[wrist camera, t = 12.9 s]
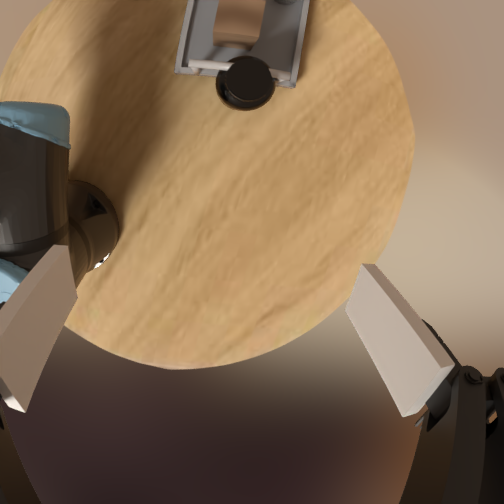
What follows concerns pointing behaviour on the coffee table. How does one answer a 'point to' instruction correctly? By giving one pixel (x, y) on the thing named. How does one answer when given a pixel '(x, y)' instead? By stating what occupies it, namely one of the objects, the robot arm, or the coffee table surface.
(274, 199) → the coffee table surface
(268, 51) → the grey tray with handle
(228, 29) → the walnut block
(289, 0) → the silver rounded piece
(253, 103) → the supplement bottle
